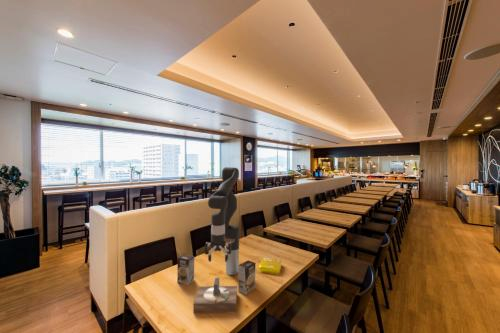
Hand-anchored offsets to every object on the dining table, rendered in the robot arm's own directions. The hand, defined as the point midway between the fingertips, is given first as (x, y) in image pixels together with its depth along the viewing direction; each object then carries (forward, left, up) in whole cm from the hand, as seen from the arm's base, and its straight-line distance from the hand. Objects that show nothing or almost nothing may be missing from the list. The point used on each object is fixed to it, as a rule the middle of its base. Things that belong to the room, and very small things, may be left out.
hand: (218, 261), depth 115 cm
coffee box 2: (-12, +16, -24) cm, 32 cm away
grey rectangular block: (+1, -1, -18) cm, 18 cm away
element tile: (-38, +34, -24) cm, 57 cm away
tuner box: (0, -1, -24) cm, 24 cm away
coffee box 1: (-22, -24, -24) cm, 41 cm away
